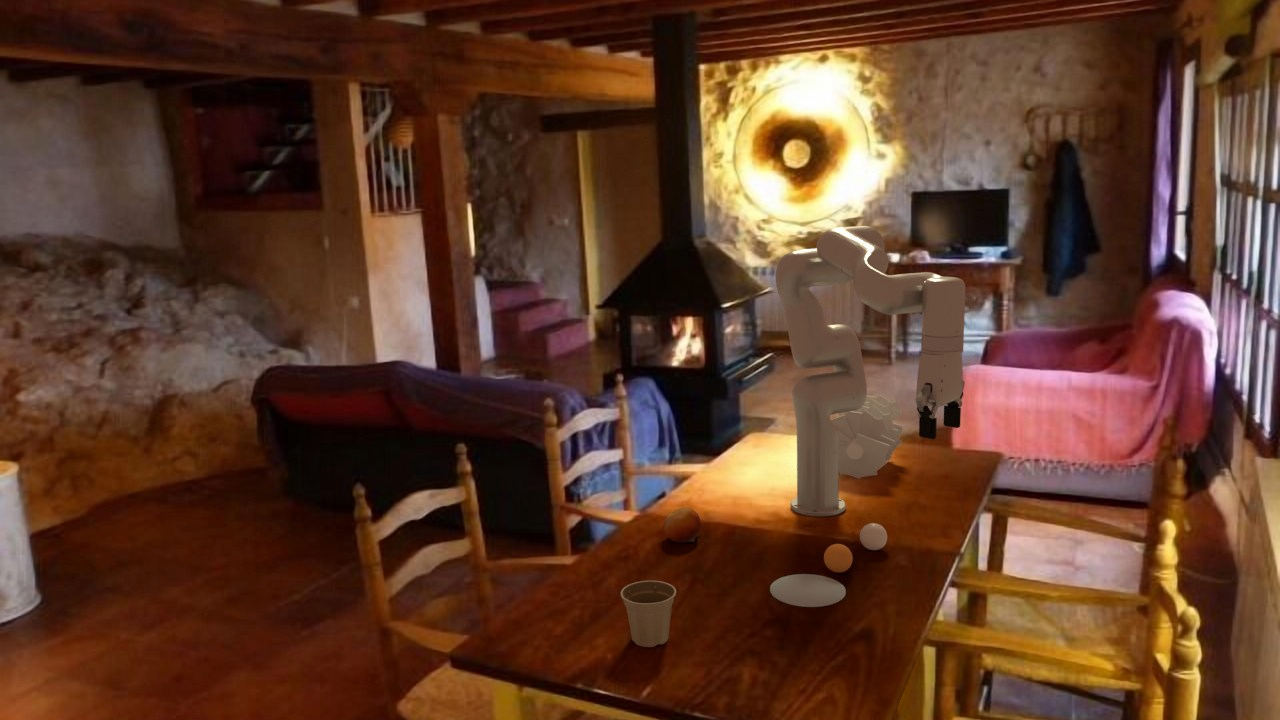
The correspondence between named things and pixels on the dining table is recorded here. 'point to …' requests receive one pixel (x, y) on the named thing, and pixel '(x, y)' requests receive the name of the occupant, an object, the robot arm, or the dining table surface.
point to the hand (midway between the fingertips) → (939, 432)
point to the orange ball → (838, 558)
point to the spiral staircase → (867, 436)
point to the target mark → (807, 590)
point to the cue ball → (873, 536)
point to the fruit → (682, 525)
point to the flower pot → (649, 611)
